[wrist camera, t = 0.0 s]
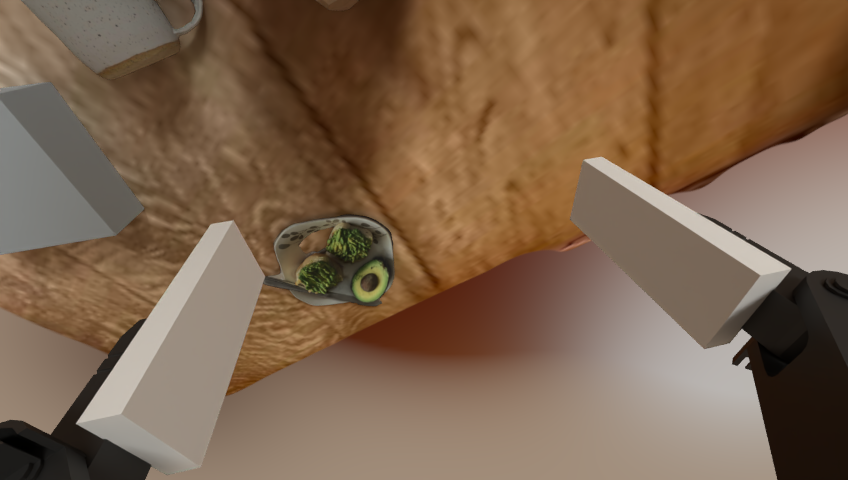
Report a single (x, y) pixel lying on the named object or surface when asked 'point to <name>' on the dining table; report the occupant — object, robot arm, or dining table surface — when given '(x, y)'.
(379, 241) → the salad plate
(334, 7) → the wooden block
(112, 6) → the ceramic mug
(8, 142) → the slate block
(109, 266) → the dining table surface
